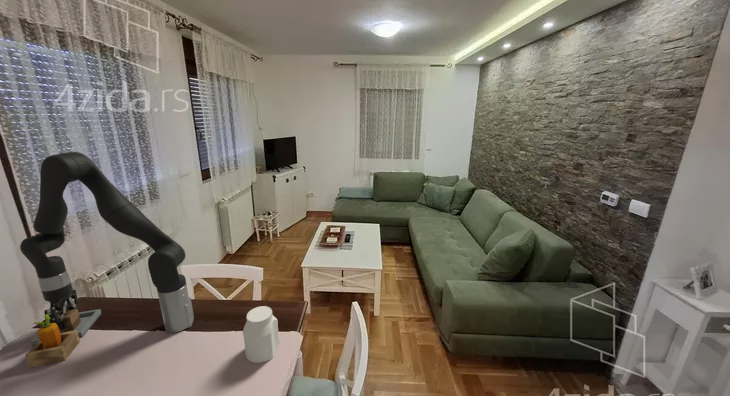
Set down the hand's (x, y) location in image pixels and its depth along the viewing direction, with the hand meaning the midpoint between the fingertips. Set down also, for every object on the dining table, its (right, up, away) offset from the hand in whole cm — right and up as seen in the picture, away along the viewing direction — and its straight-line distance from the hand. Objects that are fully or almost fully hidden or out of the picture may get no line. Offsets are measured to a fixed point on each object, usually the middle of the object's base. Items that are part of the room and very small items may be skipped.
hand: (67, 322), depth 109 cm
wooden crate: (+8, -6, -11) cm, 15 cm away
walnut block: (0, -2, 0) cm, 2 cm away
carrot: (+8, -6, -11) cm, 15 cm away
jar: (+78, -6, -8) cm, 78 cm away
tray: (0, -3, +1) cm, 3 cm away
